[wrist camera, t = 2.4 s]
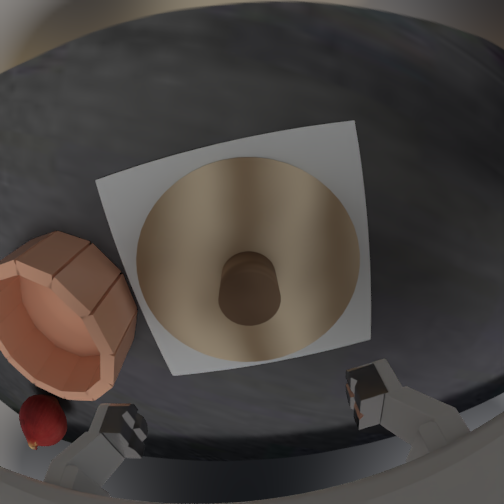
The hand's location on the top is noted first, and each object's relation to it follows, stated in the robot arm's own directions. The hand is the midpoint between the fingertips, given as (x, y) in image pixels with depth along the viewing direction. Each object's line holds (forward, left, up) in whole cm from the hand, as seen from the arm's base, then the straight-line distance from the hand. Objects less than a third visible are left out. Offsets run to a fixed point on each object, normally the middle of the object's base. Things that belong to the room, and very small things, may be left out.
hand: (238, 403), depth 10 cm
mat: (-1, 0, -12) cm, 12 cm away
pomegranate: (+25, +12, -12) cm, 31 cm away
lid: (-1, 0, -11) cm, 11 cm away
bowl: (+14, 0, -12) cm, 18 cm away
